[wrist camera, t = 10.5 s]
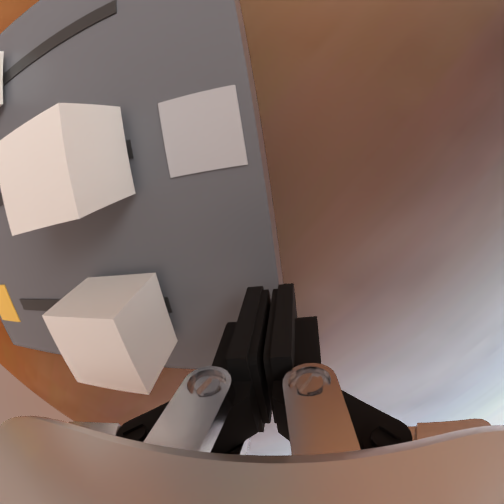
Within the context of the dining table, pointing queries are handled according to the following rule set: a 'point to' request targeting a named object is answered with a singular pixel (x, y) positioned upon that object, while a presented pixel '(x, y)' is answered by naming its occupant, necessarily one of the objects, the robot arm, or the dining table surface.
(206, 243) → the switch board
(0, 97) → the tab
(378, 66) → the dining table surface
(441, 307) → the dining table surface
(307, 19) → the dining table surface
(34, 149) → the tab
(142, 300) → the tab
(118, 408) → the dining table surface
